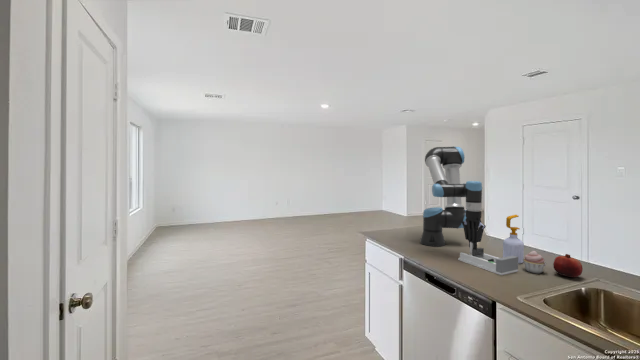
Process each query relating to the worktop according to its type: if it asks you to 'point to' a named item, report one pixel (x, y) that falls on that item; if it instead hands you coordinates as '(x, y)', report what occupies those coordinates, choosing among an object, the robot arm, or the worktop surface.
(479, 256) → the block with dark end
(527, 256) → the cupcake
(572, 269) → the fruit
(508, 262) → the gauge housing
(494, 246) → the worktop surface
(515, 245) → the soap bottle
